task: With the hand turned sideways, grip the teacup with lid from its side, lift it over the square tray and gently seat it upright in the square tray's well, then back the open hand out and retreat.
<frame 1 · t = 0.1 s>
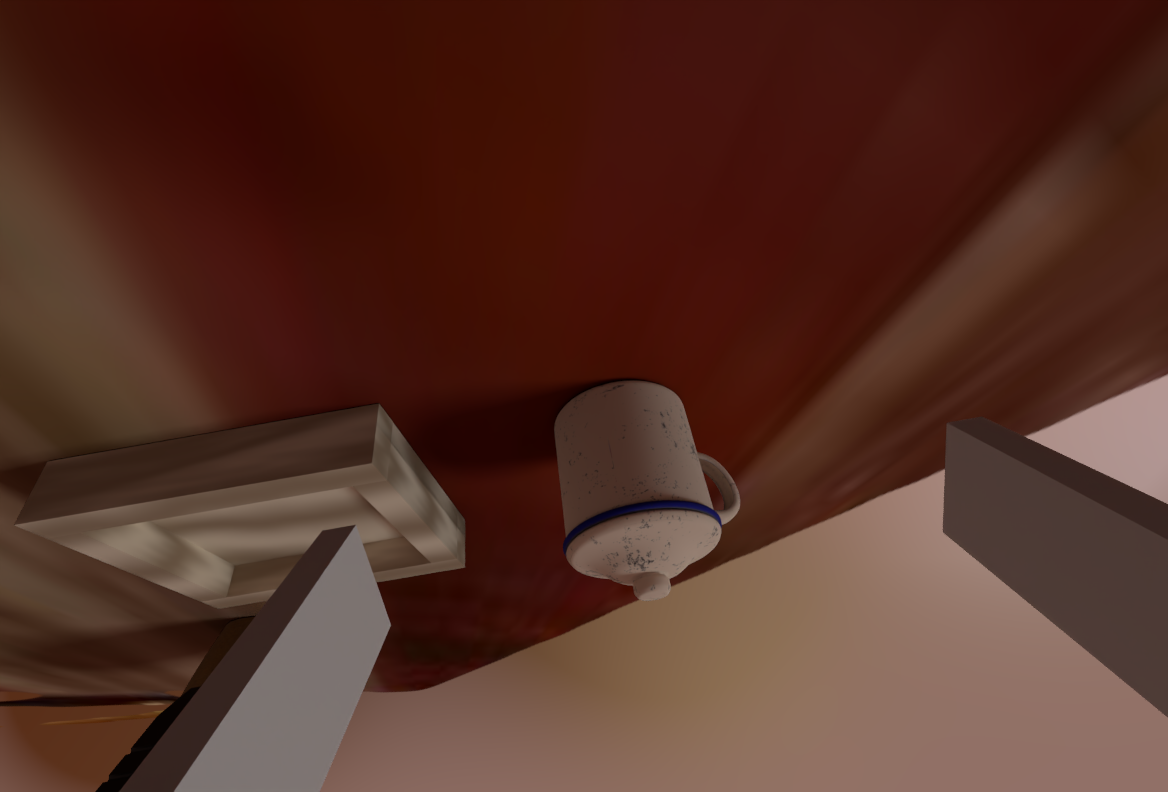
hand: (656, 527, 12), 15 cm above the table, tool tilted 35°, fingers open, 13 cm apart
square tray: (291, 495, 39), on the table
teacup with lid: (637, 417, 37), on the table
plant pot: (262, 623, 60), on the table
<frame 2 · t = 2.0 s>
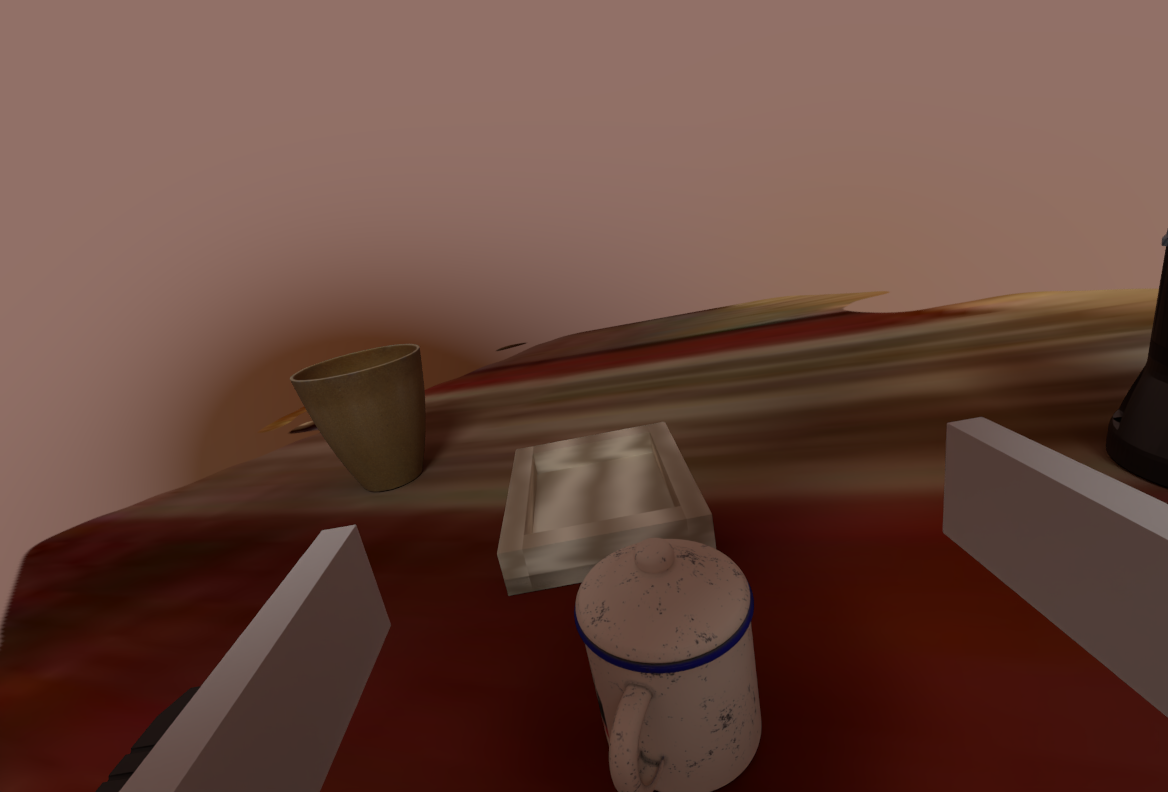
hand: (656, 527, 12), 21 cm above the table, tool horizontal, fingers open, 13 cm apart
square tray: (603, 512, 53), on the table
teacup with lid: (675, 747, 30), on the table
plant pot: (395, 478, 71), on the table
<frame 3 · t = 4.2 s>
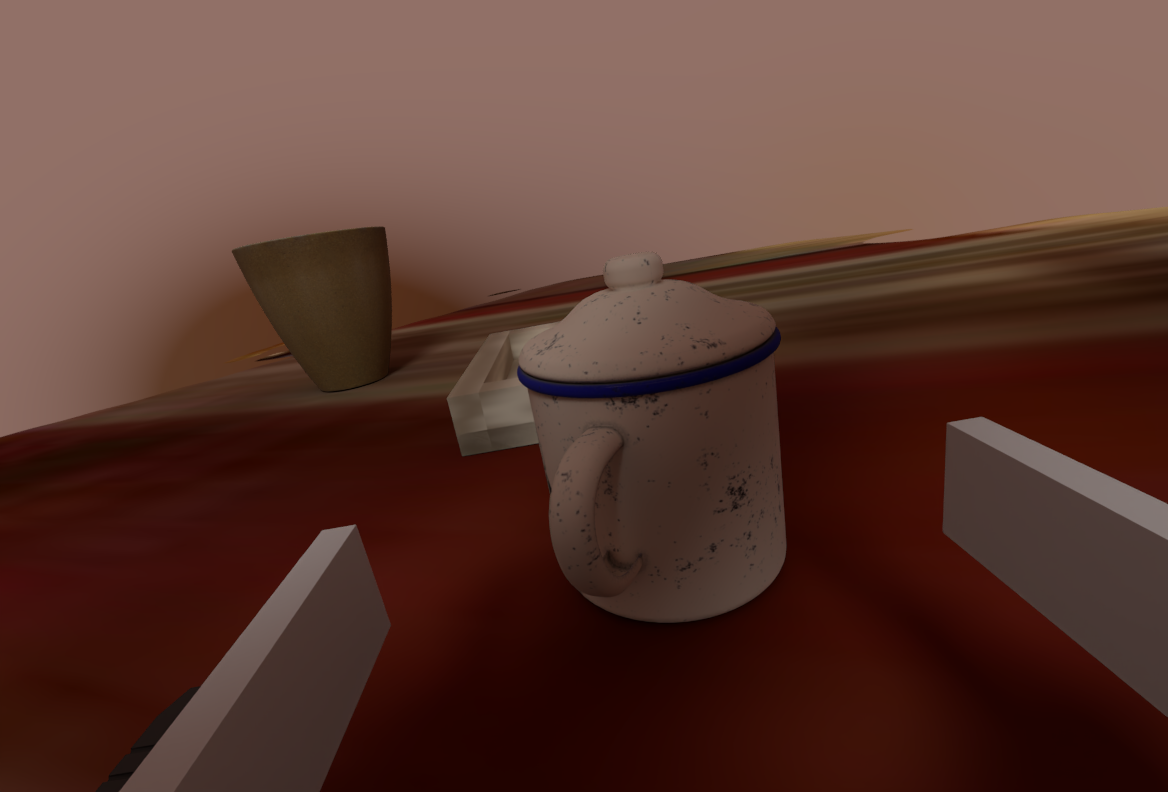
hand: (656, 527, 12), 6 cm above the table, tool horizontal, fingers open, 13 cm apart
square tray: (586, 388, 44), on the table
teacup with lid: (662, 578, 21), on the table
plant pot: (357, 382, 62), on the table
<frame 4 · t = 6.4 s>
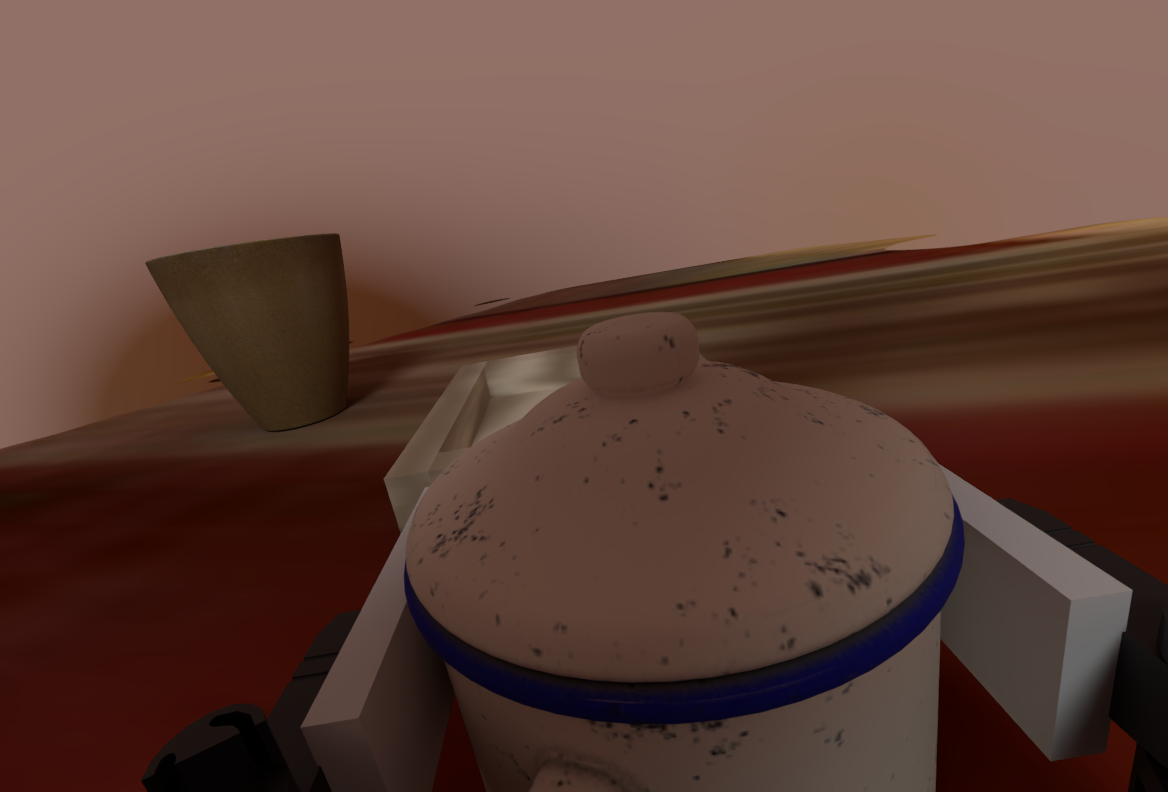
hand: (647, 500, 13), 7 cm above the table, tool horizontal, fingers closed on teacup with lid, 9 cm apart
square tray: (580, 441, 35), on the table
plant pot: (308, 418, 52), on the table
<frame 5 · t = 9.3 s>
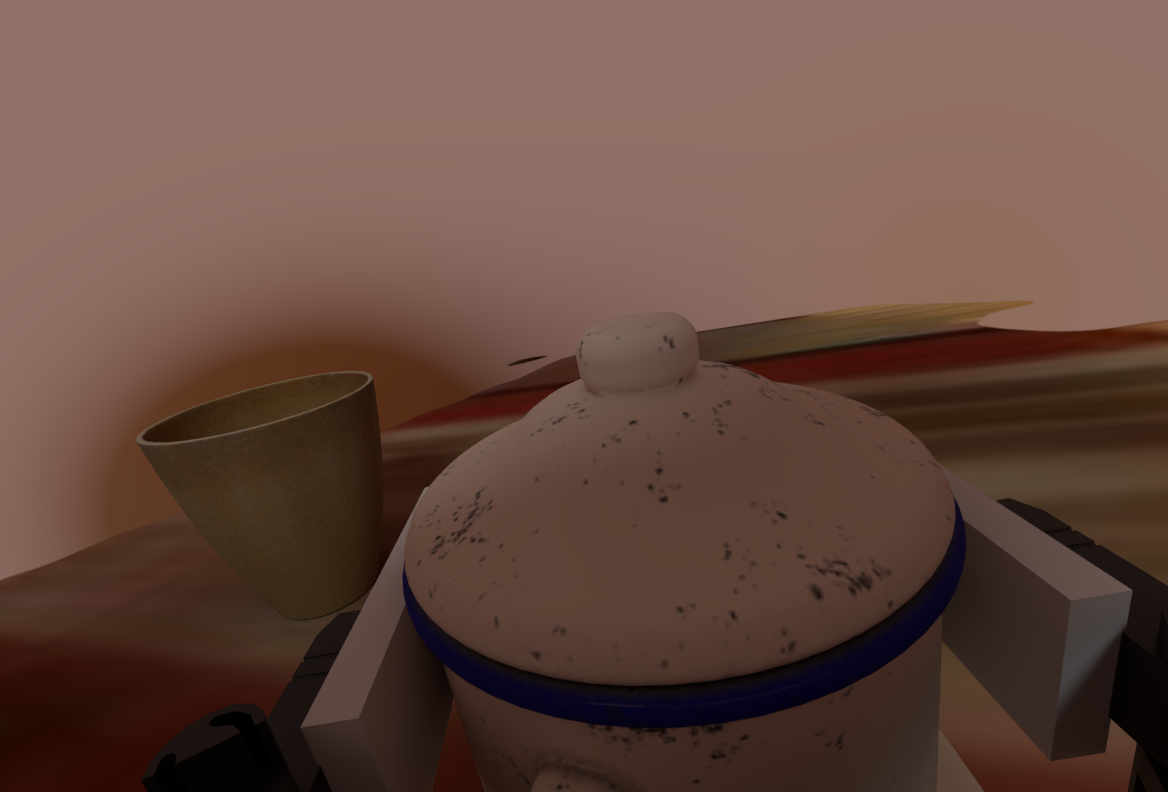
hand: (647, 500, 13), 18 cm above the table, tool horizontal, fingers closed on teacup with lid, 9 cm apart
square tray: (706, 752, 26), on the table
plant pot: (333, 588, 44), on the table
when the fingers open (10 cm above the table, at t = 12.1 s): teacup with lid drops 1 cm, resting on square tray.
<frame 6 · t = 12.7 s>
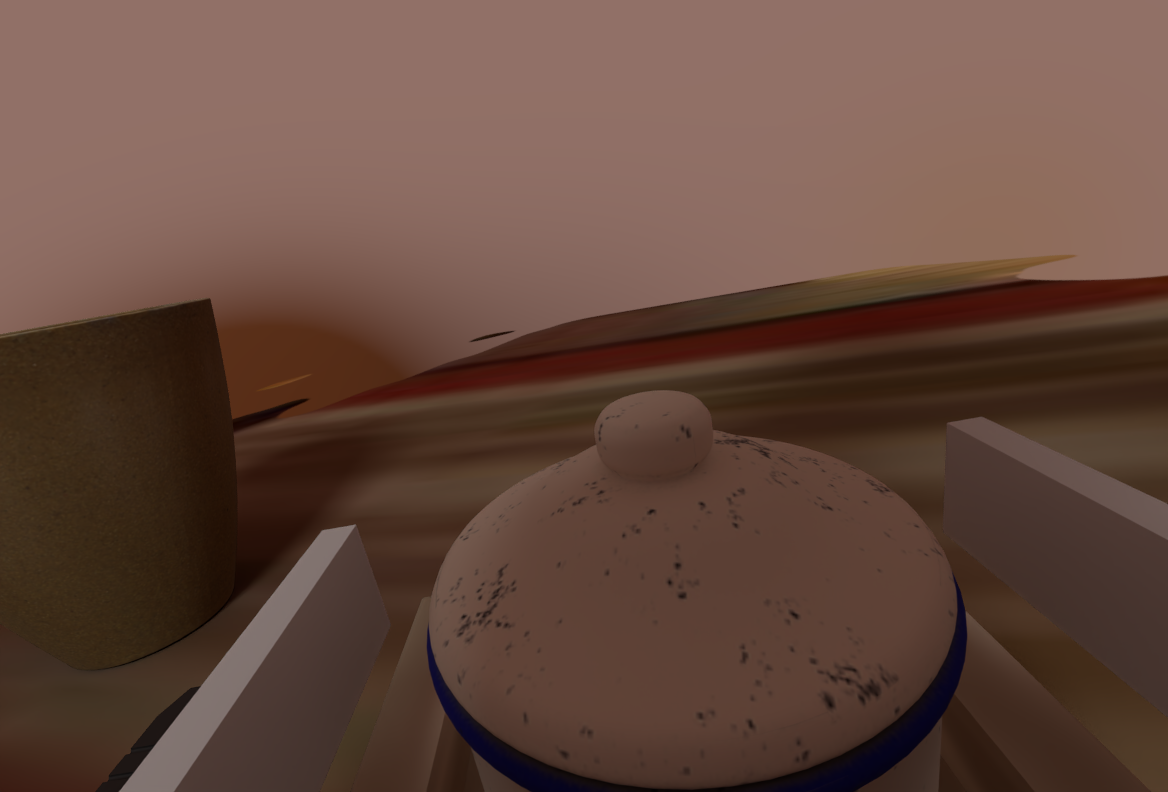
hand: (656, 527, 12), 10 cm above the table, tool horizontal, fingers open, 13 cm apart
plant pot: (164, 617, 30), on the table
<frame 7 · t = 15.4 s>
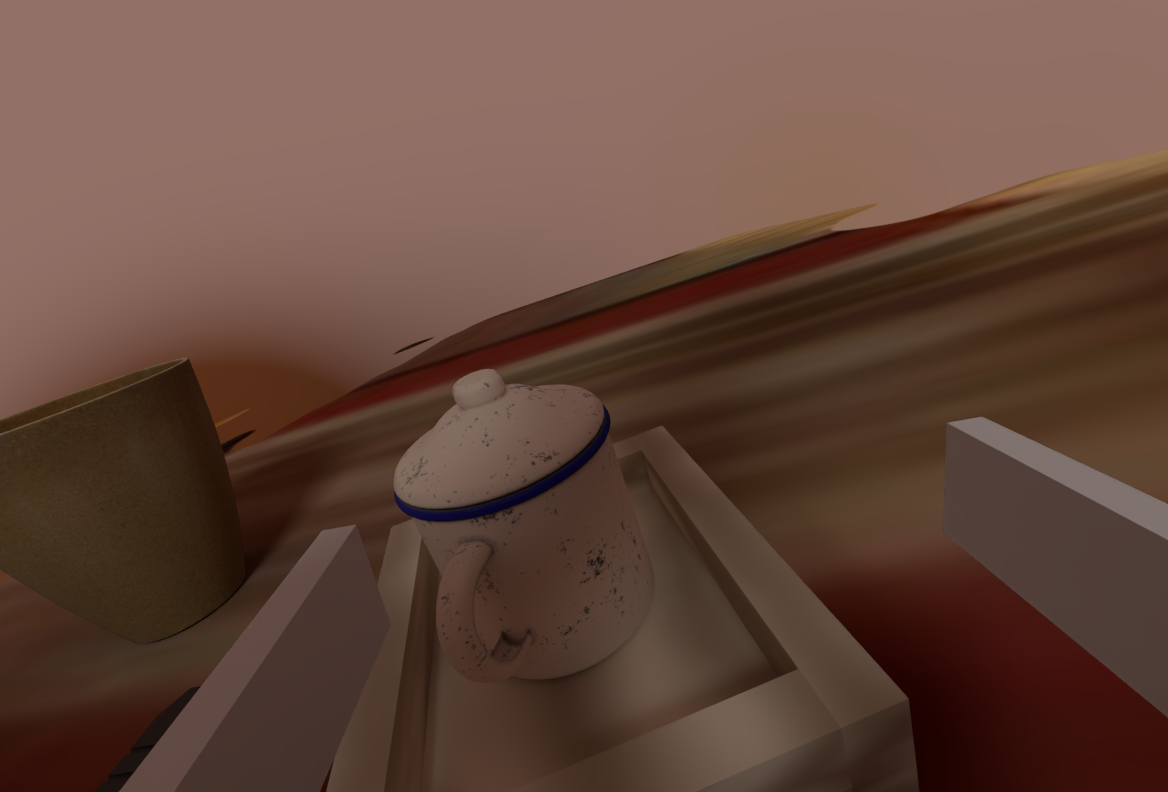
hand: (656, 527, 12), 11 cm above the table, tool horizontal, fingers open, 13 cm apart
square tray: (581, 648, 25), on the table
teacup with lid: (560, 630, 24), point 1 cm above the table, touching square tray
plant pot: (196, 602, 39), on the table
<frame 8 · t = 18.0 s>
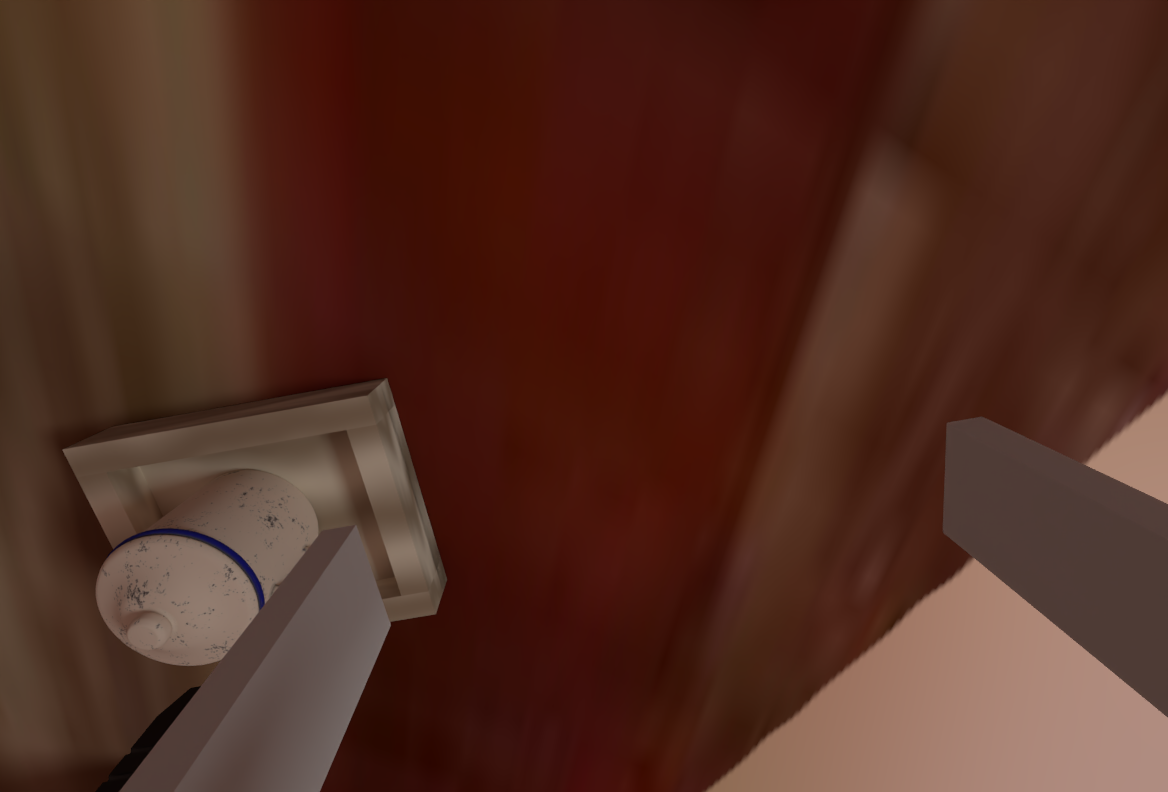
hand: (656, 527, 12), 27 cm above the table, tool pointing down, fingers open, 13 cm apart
square tray: (289, 507, 41), on the table
teacup with lid: (282, 524, 40), point 1 cm above the table, touching square tray
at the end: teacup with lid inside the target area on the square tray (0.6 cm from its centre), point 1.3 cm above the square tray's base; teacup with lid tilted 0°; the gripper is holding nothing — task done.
